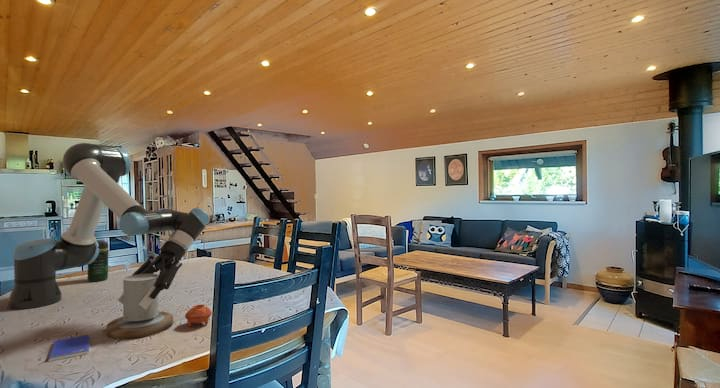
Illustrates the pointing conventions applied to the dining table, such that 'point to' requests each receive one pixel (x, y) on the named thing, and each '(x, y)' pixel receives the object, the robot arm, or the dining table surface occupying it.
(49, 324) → the dining table surface
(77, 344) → the blue flat block
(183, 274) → the dining table surface
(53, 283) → the robot arm
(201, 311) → the pot
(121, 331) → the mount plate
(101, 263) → the coffee jar
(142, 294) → the grey cylinder
